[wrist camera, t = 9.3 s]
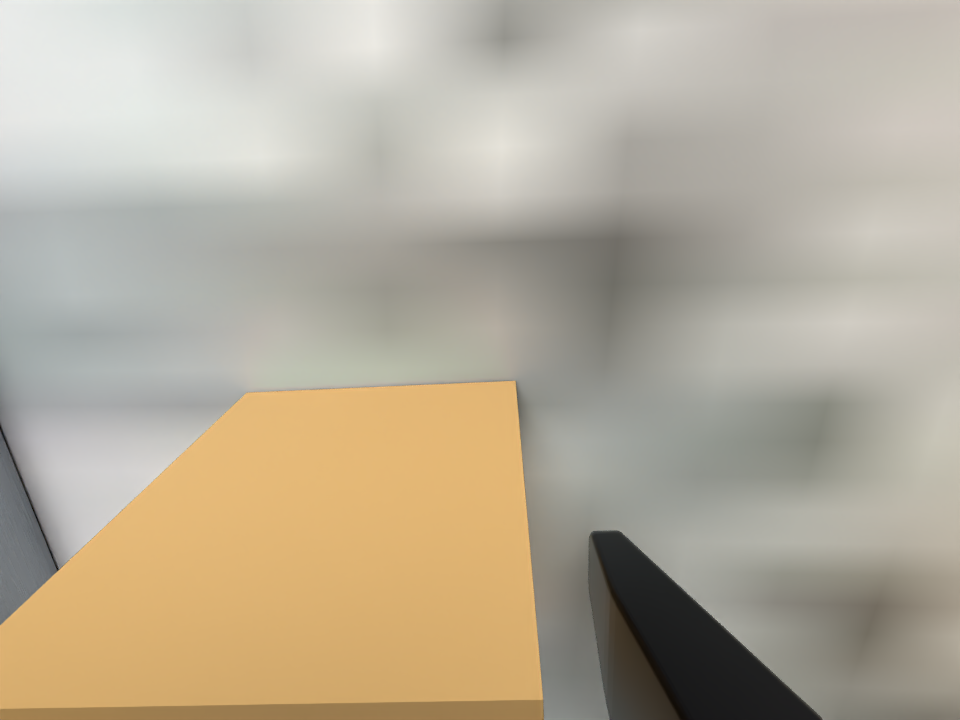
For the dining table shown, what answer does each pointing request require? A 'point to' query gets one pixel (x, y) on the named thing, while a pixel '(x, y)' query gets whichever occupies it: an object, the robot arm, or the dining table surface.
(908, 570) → the dining table surface
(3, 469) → the housing base
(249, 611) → the block
